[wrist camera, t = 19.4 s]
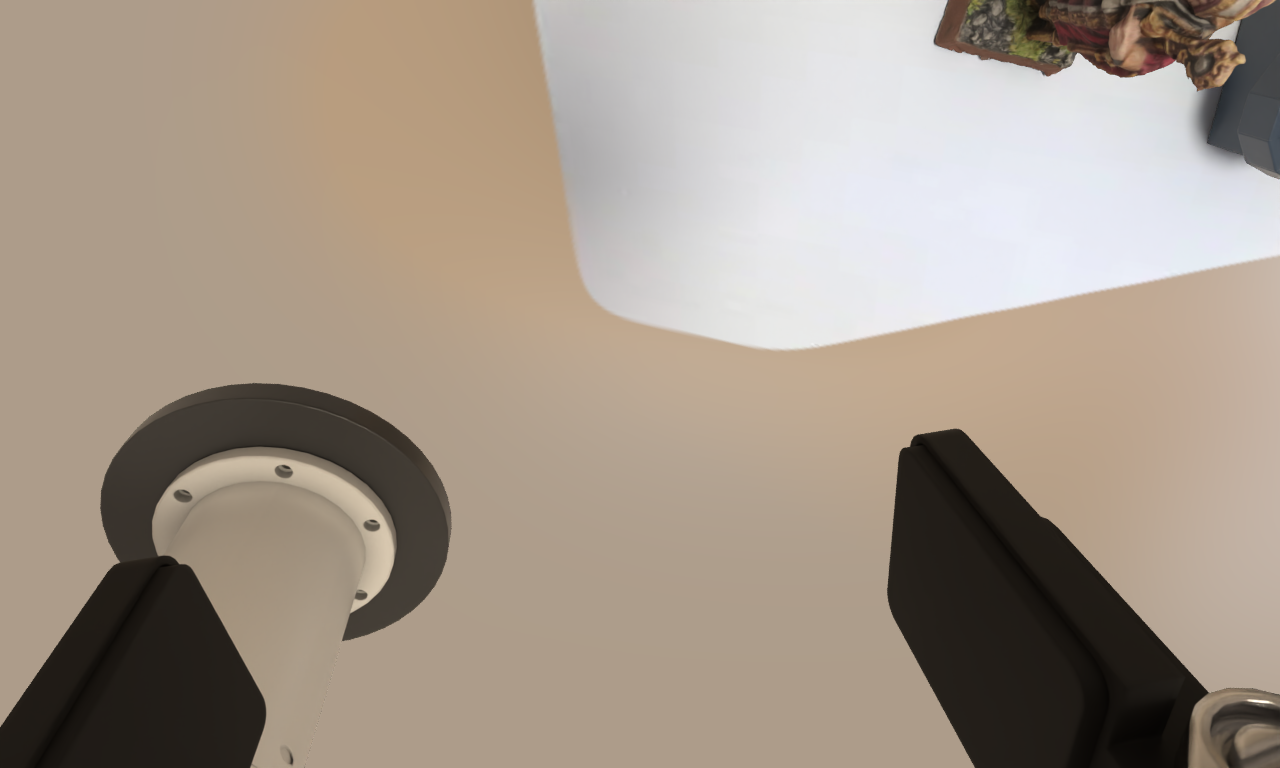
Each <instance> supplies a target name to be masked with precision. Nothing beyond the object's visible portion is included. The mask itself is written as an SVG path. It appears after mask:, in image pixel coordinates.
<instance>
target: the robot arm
mask: <svg viewBox="0 0 1280 768" xmlns="http://www.w3.org/2000/svg"><path fill="white" fill-rule="evenodd" d="M152 538H153V541H154V545H155V548H156V552H157V554H158V556H157V557H150V558H144V559H138V560H132V561H125V562H120V563H118V564H116V565H114V566H113V567H112V568H111V569H110V570H109V571H108V572H107V574H106V575H105V577H104V578H103V580H102V581H101V583H100V584H99V585H98V587H97V588H96V590H95V591H94V593H93V594H92V596H91V597H90V598H89V600H88V601H87V603H86V604H85V606H84V607H83V608H82V610H81V611H80V613H79V614H78V616H77V617H76V619H75V620H74V622H73V623H72V625H71V626H70V627H69V629H68V630H67V632H66V633H65V634H64V636H63V637H62V639H61V640H60V642H59V643H58V645H57V646H56V647H55V649H54V650H53V652H52V653H51V655H50V656H49V658H48V659H47V660H46V662H45V663H44V665H43V666H42V668H41V669H40V671H39V672H38V673H37V675H36V676H35V678H34V679H33V681H32V682H31V684H30V685H29V686H28V688H27V689H26V691H25V692H24V694H23V695H22V697H21V698H20V700H19V701H18V702H17V704H16V705H15V707H14V708H13V710H12V711H11V712H10V714H9V716H8V717H7V718H6V720H5V721H4V723H3V724H2V725H1V727H0V768H305V765H306V761H307V758H308V754H309V751H310V748H311V744H312V740H313V737H314V734H315V730H316V727H317V724H318V720H319V717H320V714H321V710H322V707H323V703H324V700H325V696H326V693H327V690H328V686H329V683H330V680H331V676H332V673H333V669H334V666H335V662H336V659H337V655H338V652H339V649H340V645H341V642H342V639H343V635H344V632H345V628H346V625H347V622H348V618H349V615H350V613H352V612H354V611H355V610H357V609H359V608H360V607H362V606H363V605H365V604H367V603H368V602H369V601H370V600H371V599H372V598H374V597H375V596H376V595H377V594H378V593H379V592H380V591H381V589H382V588H383V586H384V585H385V583H386V582H387V580H388V579H389V576H390V573H391V570H392V567H393V564H394V559H395V554H396V549H397V540H396V530H395V527H394V524H393V521H392V518H391V515H390V513H389V512H388V510H387V509H386V507H385V505H384V504H383V502H382V500H381V499H380V498H379V497H378V496H377V495H376V494H375V493H374V491H373V490H372V489H371V488H370V487H369V486H368V485H367V484H365V483H364V482H363V481H361V480H360V479H359V478H358V477H356V476H355V475H354V474H352V473H351V472H349V471H347V470H345V469H344V468H342V467H340V466H338V465H336V464H334V463H332V462H331V461H328V460H325V459H322V458H320V457H317V456H314V455H311V454H309V453H304V452H299V451H295V450H290V449H285V448H273V447H248V448H236V449H232V450H228V451H224V452H219V453H215V454H212V455H210V456H208V457H206V458H204V459H201V460H199V461H197V462H195V463H193V464H192V465H191V466H189V467H188V468H186V469H185V470H184V471H182V472H181V473H179V474H178V476H177V477H176V478H175V479H174V480H173V482H172V483H171V484H170V485H169V486H168V488H167V489H166V491H165V492H164V494H163V496H162V497H161V499H160V500H159V502H158V504H157V506H156V509H155V513H154V516H153V520H152ZM887 593H888V594H887V595H888V602H889V606H890V609H891V612H892V615H893V617H894V619H895V621H896V623H897V625H898V627H899V629H900V630H901V632H902V634H903V636H904V638H905V640H906V641H907V643H908V645H909V647H910V649H911V650H912V652H913V654H914V656H915V658H916V660H917V662H918V663H919V665H920V667H921V669H922V671H923V673H924V674H925V676H926V678H927V680H928V682H929V684H930V686H931V687H932V689H933V691H934V693H935V695H936V697H937V698H938V700H939V702H940V704H941V706H942V708H943V710H944V711H945V713H946V715H947V717H948V719H949V721H950V723H951V724H952V726H953V728H954V730H955V732H956V733H957V735H958V737H959V739H960V741H961V742H962V745H963V746H964V748H965V750H966V752H967V754H968V756H969V758H970V759H971V761H972V763H973V765H974V767H975V768H1280V695H1279V694H1274V693H1270V692H1266V691H1261V690H1257V689H1253V688H1252V689H1251V688H1226V689H1223V690H1219V691H1215V692H1212V693H1209V692H1208V691H1207V690H1206V689H1205V688H1204V687H1203V686H1202V685H1201V684H1200V683H1199V682H1198V680H1197V679H1196V678H1195V677H1194V676H1193V675H1192V674H1191V673H1190V672H1189V671H1188V669H1187V668H1186V667H1185V666H1184V665H1183V664H1182V663H1181V662H1180V661H1179V660H1178V659H1177V657H1176V656H1175V655H1174V654H1173V653H1172V652H1171V651H1170V650H1169V649H1168V648H1167V647H1166V645H1165V644H1164V643H1163V642H1162V641H1161V640H1160V639H1159V638H1158V637H1157V636H1156V634H1155V633H1154V632H1153V631H1152V630H1151V629H1150V628H1149V627H1148V626H1147V625H1146V624H1145V622H1144V621H1143V620H1142V619H1141V618H1140V617H1139V616H1138V615H1137V614H1136V613H1135V612H1134V610H1133V609H1132V608H1131V607H1130V606H1129V605H1128V604H1127V603H1126V602H1125V601H1124V600H1123V598H1122V597H1121V596H1120V595H1119V594H1118V593H1117V592H1116V591H1115V590H1114V589H1113V588H1112V586H1111V585H1110V584H1109V583H1108V582H1107V581H1106V580H1105V579H1104V578H1103V577H1102V575H1101V574H1100V573H1099V572H1098V571H1097V570H1096V569H1095V568H1094V567H1093V566H1092V564H1091V563H1090V562H1089V561H1088V560H1087V559H1086V558H1085V557H1084V556H1083V555H1082V554H1081V552H1079V550H1078V549H1077V548H1076V547H1075V546H1074V545H1073V544H1072V543H1071V542H1070V541H1069V539H1068V538H1067V537H1066V536H1065V535H1064V534H1063V533H1062V532H1061V531H1060V530H1059V528H1058V527H1056V526H1055V525H1054V524H1053V523H1052V522H1051V521H1049V520H1048V519H1046V518H1043V517H1040V516H1039V514H1037V512H1036V511H1035V510H1034V509H1033V508H1032V507H1031V506H1030V504H1029V503H1028V502H1027V501H1026V500H1025V499H1024V498H1023V497H1022V496H1021V494H1019V492H1018V491H1017V490H1016V489H1015V488H1014V487H1013V486H1012V484H1010V482H1009V481H1008V480H1007V479H1006V478H1005V477H1004V476H1003V474H1002V473H1001V472H1000V471H999V470H998V469H997V468H996V467H995V466H994V465H993V463H992V462H991V461H990V460H989V459H988V458H987V457H986V456H985V455H984V454H983V452H982V451H981V450H980V449H979V448H978V447H977V446H976V445H975V443H974V442H973V441H972V440H971V439H970V438H969V437H968V436H967V435H966V434H965V433H964V432H963V431H962V430H960V429H950V430H944V431H938V432H932V433H925V434H920V435H916V436H914V437H913V439H912V441H911V445H910V447H907V448H903V449H902V450H901V451H900V455H899V462H898V474H897V485H896V497H895V509H894V519H893V532H892V542H891V555H890V565H889V578H888V588H887Z"/></svg>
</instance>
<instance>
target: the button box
mask: <svg viewBox="0 0 1280 768" xmlns="http://www.w3.org/2000/svg"><path fill="white" fill-rule="evenodd" d="M1235 45H1236V46H1237V51H1238V52H1239V53H1240V54H1243V55H1245V58H1246V62H1245V63H1244V64H1239V65H1237V66H1235V68H1234V69H1233V71H1232V73H1231V75H1230V76H1229V77H1228V79H1227V80H1226V81H1225V83H1224V86H1223V89H1222V93H1221V96H1220V100H1219V103H1218V107H1217V110H1216V114H1215V117H1214V121H1213V124H1212V128H1211V131H1210V135H1209V138H1208V142H1207V143H1208V144H1211V145H1214V146H1217V147H1220V148H1223V149H1226V150H1229V151H1232V152H1235V153H1238V154H1241V155H1244V158H1245V161H1246V163H1247V164H1249V165H1251V166H1253V167H1254V168H1256V169H1258V170H1260V171H1262V172H1263V173H1265V174H1267V175H1269V176H1271V177H1274V178H1277V179H1280V0H1276V1H1274V2H1273V3H1271V4H1270V5H1268V6H1266V7H1263V8H1261V9H1259V10H1258V11H1257V12H1255V13H1253V14H1252V15H1250V16H1248V17H1246V18H1243V19H1242V22H1241V26H1240V29H1239V33H1238V36H1237V40H1236V43H1235Z"/></svg>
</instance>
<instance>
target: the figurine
mask: <svg viewBox="0 0 1280 768" xmlns="http://www.w3.org/2000/svg"><path fill="white" fill-rule="evenodd" d="M1274 1H1276V0H949V2H948V5H947V8H946V10H945V16H944V18H943V20H942V22H941V25H940V28H939V30H938V33H937V35H936V41H935V43H936V45H938V46H940V47H943V48H946V49H949V50H951V51H952V50H953V49H954V50H955V51H956V52H958V53H962V52H964V51H965V52H966V53H969V54H971V55H979V56H981V57H980V58H981V60H989V59H988V58H990V59H991V58H992V59H993V58H994V59H996V60H999V61H1001V62H1010V63H1014V64H1017V65H1020V66H1026V67H1031V68H1033V69H1034V68H1035V69H1037V70H1038V71H1039V70H1041V71H1043V72H1044V73H1045V75H1046V76H1050V75H1051V74H1056V73H1057V72H1059V71H1061V70H1062V69H1064V68H1067V67H1070V66H1071V65H1072V63H1073V61H1074V58H1075V55H1076V54H1077V53H1080V54H1081V55H1082V56H1083V57H1084V58H1085V59H1087V60H1088V61H1089V62H1091V63H1092V64H1093V65H1096V67H1097V68H1098V69H1102V70H1104V71H1106V73H1108V74H1110V75H1117V76H1119V77H1134V76H1138V75H1145V74H1146V73H1149V72H1153V71H1155V70H1157V69H1160V68H1164V67H1166V66H1168V65H1170V64H1172V63H1173V62H1174V61H1175V60H1177V61H1176V62H1178V63H1182V64H1184V66H1185V68H1186V74H1187V77H1190V78H1191V80H1192V82H1193V84H1194V85H1195V86H1196V87H1197V88H1198V89H1197V91H1199V90H1202V89H1209V88H1213V87H1220V86H1222V85H1223V84H1224V83H1225V81H1226V80H1227V79H1228V77H1229V76H1230V75H1231V73H1232V71H1233V69H1234V68H1235V66H1237V65H1239V64H1244V63H1245V62H1246V58H1245V55H1243V54H1240V53H1239V52H1238V51H1237V46H1236V45H1235V43H1234V42H1233V41H1232V40H1222V39H1209V38H1210V37H1211V35H1212V34H1213V33H1214V32H1215V31H1217V30H1218V29H1220V28H1222V27H1225V26H1228V25H1230V24H1232V23H1233V22H1234V21H1237V20H1241V19H1243V18H1246V17H1248V16H1250V15H1252V14H1253V13H1255V12H1257V11H1258V10H1259V9H1261V8H1263V7H1266V6H1268V5H1270V4H1271V3H1273V2H1274ZM1188 79H1189V78H1188Z"/></svg>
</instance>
